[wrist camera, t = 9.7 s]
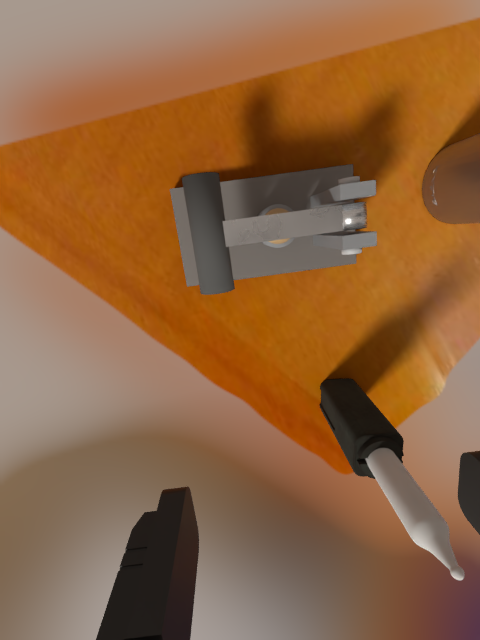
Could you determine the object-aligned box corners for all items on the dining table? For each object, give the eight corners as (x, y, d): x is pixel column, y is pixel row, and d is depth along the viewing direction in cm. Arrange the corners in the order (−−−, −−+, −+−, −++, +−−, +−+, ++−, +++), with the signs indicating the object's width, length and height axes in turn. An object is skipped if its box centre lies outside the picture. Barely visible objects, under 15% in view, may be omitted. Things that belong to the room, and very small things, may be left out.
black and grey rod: (320, 379, 45) (428, 552, 21) (356, 377, 45) (505, 546, 21) (319, 412, 46) (419, 609, 22) (354, 410, 46) (492, 603, 22)
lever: (353, 160, 30) (372, 150, 27) (357, 266, 33) (374, 270, 29) (184, 182, 30) (179, 175, 26) (201, 289, 32) (200, 296, 29)
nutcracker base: (346, 167, 38) (399, 139, 26) (350, 261, 41) (399, 274, 29) (172, 191, 38) (148, 173, 26) (189, 283, 41) (174, 305, 29)
